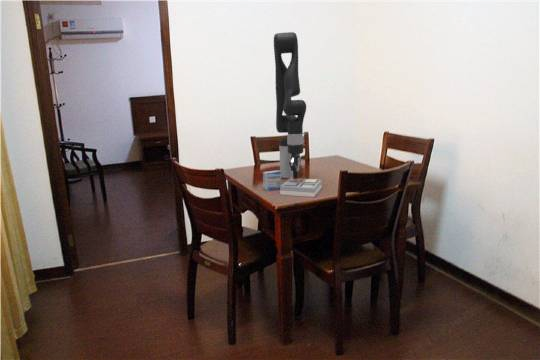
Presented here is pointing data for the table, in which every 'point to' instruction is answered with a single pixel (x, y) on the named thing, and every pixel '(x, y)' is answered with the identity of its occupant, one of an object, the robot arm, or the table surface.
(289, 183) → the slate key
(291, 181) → the terracotta key
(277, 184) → the medicine box
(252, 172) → the table surface
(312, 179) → the cream key
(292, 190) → the keypad
